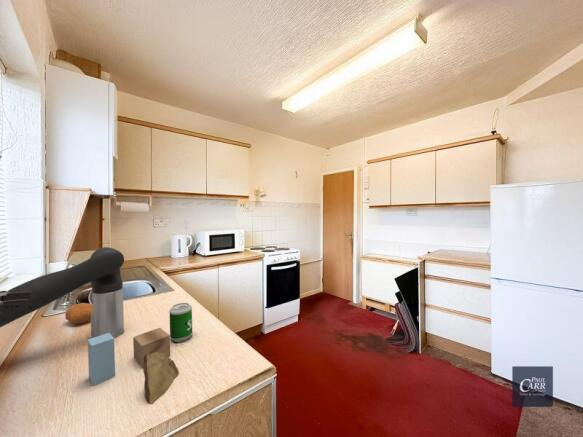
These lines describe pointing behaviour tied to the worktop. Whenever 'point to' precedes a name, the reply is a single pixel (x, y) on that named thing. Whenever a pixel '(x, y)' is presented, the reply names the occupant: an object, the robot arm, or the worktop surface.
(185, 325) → the soda can
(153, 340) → the walnut block
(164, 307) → the worktop surface
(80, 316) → the potato
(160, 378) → the rock
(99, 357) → the blue block
